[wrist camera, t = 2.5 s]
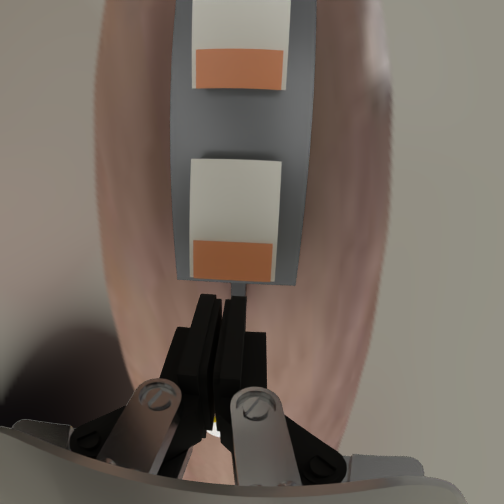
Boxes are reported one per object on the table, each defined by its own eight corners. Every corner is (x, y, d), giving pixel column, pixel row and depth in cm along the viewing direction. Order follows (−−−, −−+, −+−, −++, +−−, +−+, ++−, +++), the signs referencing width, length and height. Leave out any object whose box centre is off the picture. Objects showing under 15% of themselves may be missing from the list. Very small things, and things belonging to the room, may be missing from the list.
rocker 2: (197, 160, 14) (190, 158, 13) (279, 163, 14) (281, 161, 13) (195, 268, 16) (189, 277, 14) (273, 272, 16) (274, 282, 14)
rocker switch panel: (194, -6, 13) (176, -35, 9) (305, -4, 13) (319, -35, 9) (193, 296, 23) (180, 338, 19) (284, 301, 23) (288, 344, 19)
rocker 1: (200, -19, 9) (192, -26, 8) (289, -19, 9) (292, -26, 8) (198, 84, 13) (191, 88, 11) (283, 86, 13) (285, 90, 11)
